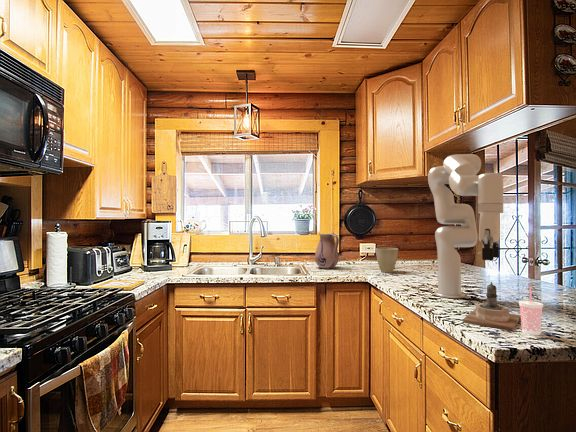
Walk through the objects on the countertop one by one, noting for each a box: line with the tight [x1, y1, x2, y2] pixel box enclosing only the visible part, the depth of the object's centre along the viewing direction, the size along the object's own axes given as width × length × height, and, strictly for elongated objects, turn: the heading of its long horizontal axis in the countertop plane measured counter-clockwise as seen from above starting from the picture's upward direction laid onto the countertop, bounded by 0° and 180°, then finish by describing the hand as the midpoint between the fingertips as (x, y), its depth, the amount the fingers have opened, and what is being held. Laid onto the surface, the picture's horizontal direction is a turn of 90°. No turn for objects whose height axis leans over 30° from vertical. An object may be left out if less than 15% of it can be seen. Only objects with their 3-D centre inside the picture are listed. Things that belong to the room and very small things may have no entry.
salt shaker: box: [482, 281, 502, 310], centre depth 115 cm, size 6×6×12 cm
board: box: [462, 303, 521, 332], centre depth 115 cm, size 18×14×4 cm
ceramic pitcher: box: [314, 233, 340, 270], centre depth 246 cm, size 18×21×25 cm
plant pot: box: [374, 247, 399, 274], centre depth 225 cm, size 15×15×16 cm
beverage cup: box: [518, 285, 544, 336], centre depth 102 cm, size 6×6×14 cm
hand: (490, 258), depth 116 cm, fingers open, 9 cm apart
